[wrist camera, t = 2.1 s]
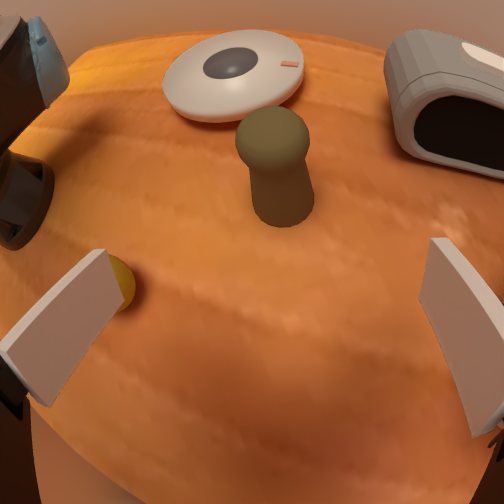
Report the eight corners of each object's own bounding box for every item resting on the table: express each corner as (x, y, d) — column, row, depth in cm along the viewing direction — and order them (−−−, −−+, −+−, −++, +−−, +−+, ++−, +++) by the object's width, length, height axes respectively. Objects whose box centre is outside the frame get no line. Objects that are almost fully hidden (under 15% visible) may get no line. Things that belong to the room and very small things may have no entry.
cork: (248, 179, 29) (221, 103, 19) (306, 168, 29) (303, 88, 18) (257, 233, 28) (228, 169, 17) (320, 221, 27) (326, 150, 16)
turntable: (145, 121, 32) (137, 110, 30) (199, 42, 37) (195, 31, 35) (287, 130, 28) (285, 115, 26) (313, 43, 32) (313, 30, 30)
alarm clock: (383, 160, 28) (413, 62, 15) (376, 100, 30) (391, 11, 17) (523, 192, 23) (580, 133, 11) (505, 133, 26) (544, 71, 13)
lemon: (121, 328, 27) (68, 320, 20) (100, 286, 29) (49, 268, 21) (159, 297, 27) (111, 279, 20) (134, 255, 29) (87, 228, 22)
